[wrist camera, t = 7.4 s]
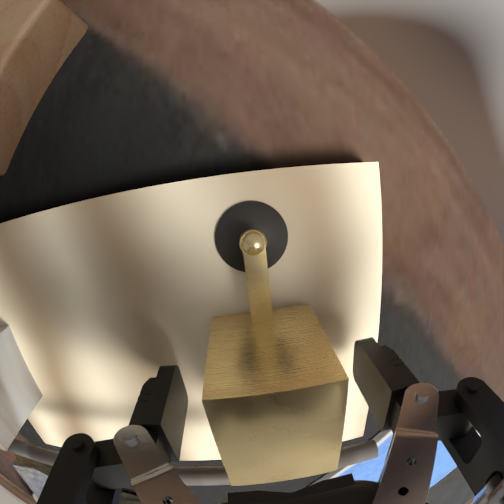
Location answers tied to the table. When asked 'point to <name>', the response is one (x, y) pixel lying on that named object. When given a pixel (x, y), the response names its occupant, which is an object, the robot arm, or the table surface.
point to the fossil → (39, 473)
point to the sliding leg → (273, 385)
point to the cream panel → (177, 296)
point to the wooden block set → (30, 61)
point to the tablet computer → (374, 466)
